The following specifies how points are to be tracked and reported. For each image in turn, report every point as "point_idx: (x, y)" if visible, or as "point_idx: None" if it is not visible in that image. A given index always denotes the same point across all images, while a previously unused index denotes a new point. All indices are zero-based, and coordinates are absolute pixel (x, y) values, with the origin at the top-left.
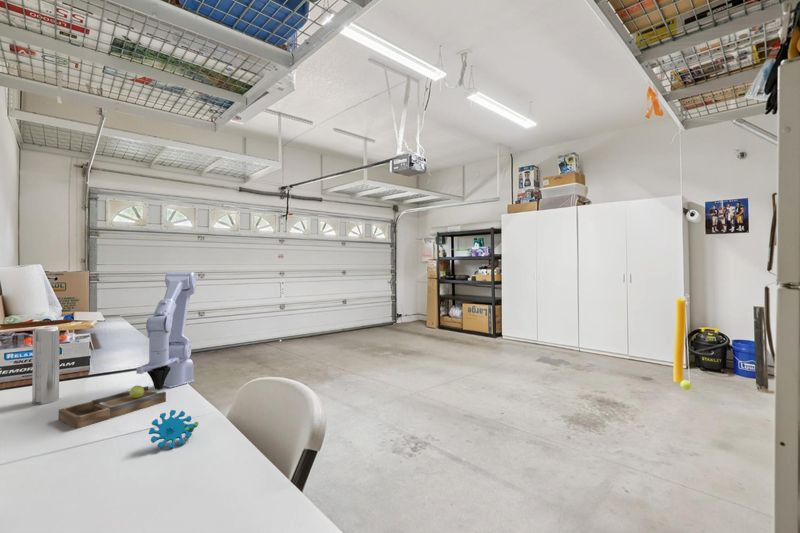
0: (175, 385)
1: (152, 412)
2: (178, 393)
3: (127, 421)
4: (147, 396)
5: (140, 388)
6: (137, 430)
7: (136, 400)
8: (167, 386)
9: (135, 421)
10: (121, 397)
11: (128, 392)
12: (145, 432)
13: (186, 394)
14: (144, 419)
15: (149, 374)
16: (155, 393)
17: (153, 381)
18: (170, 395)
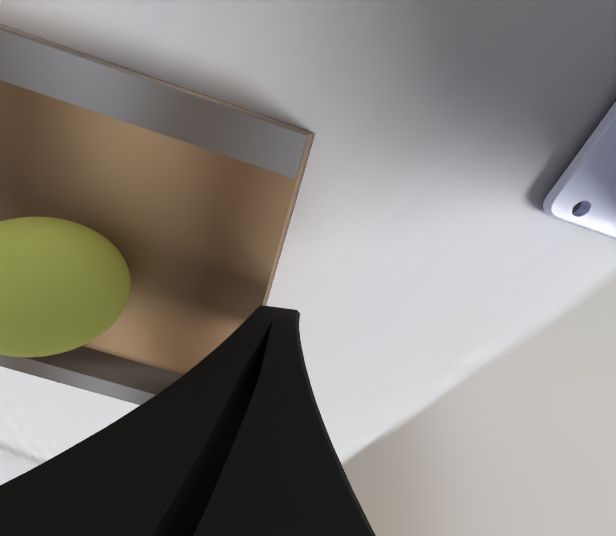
0: (596, 230)
1: (119, 401)
2: (395, 351)
3: (6, 376)
4: (101, 384)
5: (26, 356)
6: (11, 446)
7: (20, 369)
8: (583, 154)
9: (30, 401)
10: (4, 84)
11: (50, 92)
12: (25, 468)
13: (381, 400)
14: (63, 416)
15: (51, 479)
16: (239, 320)
17: (210, 366)
18: (348, 329)
